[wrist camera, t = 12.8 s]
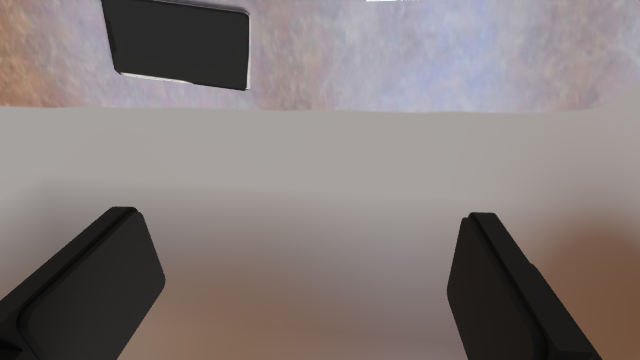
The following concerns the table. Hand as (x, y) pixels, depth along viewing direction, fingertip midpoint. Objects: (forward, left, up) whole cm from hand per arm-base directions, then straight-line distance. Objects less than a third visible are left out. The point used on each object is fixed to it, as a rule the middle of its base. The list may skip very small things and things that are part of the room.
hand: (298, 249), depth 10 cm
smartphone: (-16, +3, -29) cm, 33 cm away
